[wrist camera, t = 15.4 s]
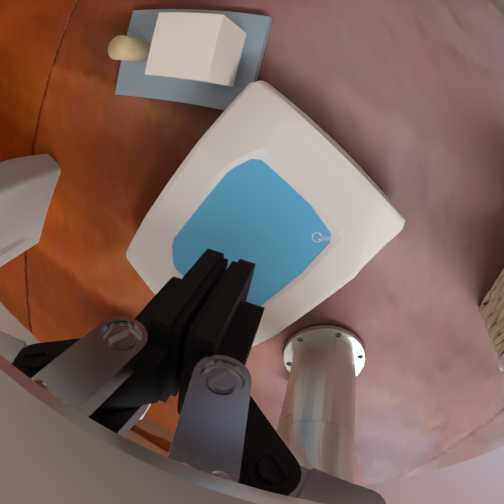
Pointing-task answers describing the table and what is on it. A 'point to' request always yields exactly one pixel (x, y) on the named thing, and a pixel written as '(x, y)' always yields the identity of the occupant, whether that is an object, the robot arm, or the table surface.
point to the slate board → (180, 90)
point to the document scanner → (267, 209)
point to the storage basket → (495, 316)
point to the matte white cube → (196, 47)
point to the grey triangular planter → (24, 201)
